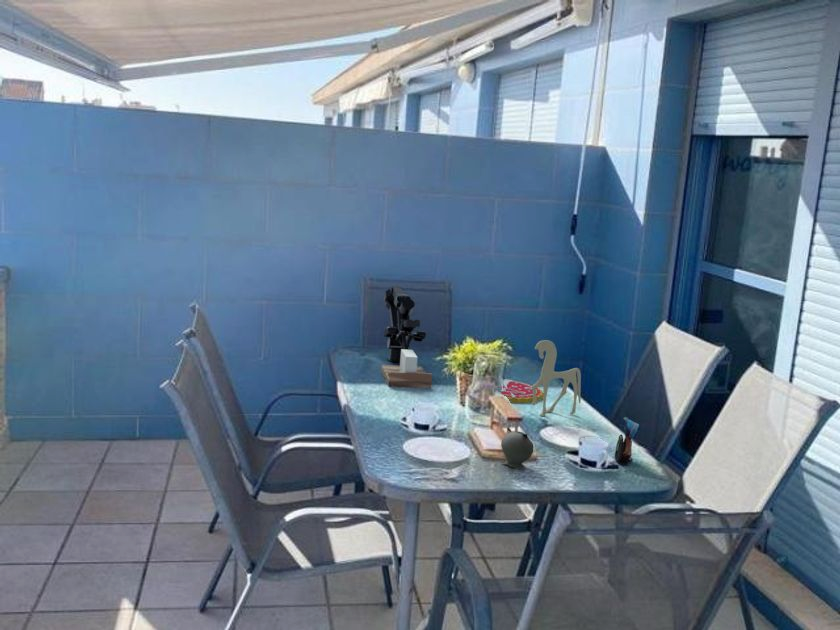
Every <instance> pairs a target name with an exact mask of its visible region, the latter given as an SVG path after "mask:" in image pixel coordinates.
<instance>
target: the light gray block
mask: <svg viewBox="0 0 840 630" xmlns="http://www.w3.org/2000/svg"><path fill="white" fill-rule="evenodd" d="M399 366H400V370H399V372H408V373H416V370H417V366H418V356H417V354H416V353H415V351H414V350H413V349H408V350H407V349H401V357H400V362H399Z"/></svg>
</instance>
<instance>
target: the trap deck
mask: <svg viewBox="0 0 840 630" xmlns="http://www.w3.org/2000/svg"><path fill="white" fill-rule="evenodd" d="M380 370H381V372H382V375H383V378H384V377H385V378H384V380H385V382H386V384H387V386H388V387H393V386H396V388H397V387H398V388H422V389H423V388H425V389H427V388H428V389H431V388H432V382H433V381H432V380H433V373H429V372H426V371H425V370H424V368H423V367H422V366H418V365H417V370H416V373H408V372H399V370H400V365H392V364H391V365H389V364H381V369H380Z"/></svg>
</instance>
